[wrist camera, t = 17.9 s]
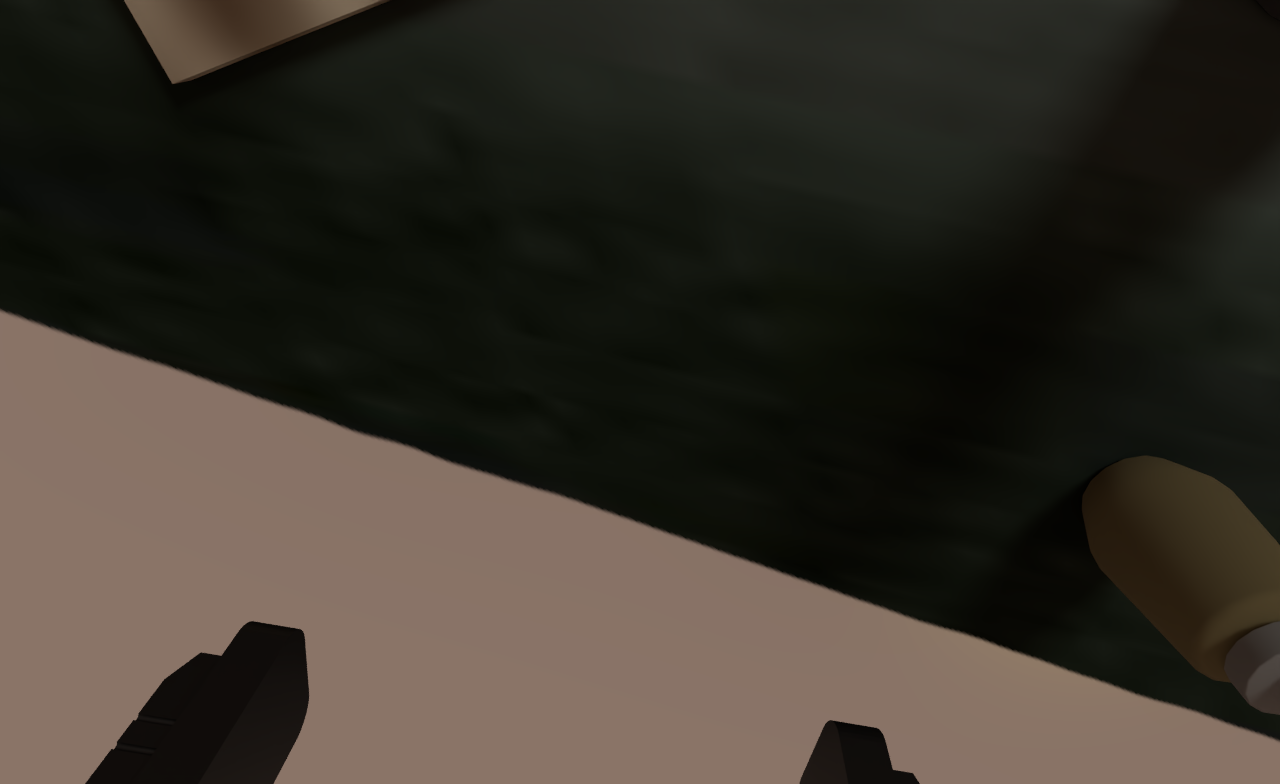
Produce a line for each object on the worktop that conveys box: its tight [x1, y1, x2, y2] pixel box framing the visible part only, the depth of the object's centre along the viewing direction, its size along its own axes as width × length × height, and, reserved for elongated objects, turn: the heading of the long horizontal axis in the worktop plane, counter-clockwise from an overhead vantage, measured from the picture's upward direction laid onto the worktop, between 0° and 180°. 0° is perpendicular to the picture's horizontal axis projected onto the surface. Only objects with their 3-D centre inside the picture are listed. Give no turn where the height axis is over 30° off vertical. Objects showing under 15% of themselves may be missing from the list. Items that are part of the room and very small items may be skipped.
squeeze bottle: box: [1082, 455, 1280, 715], centre depth 38 cm, size 8×8×18 cm
